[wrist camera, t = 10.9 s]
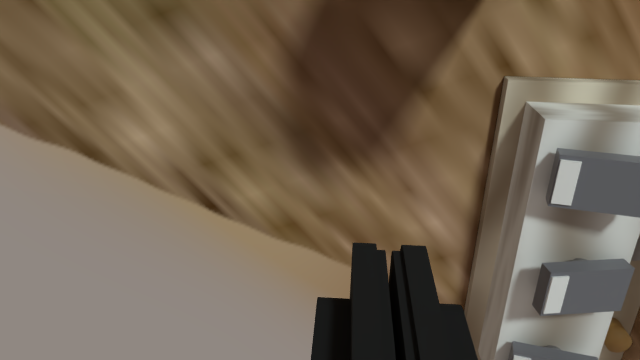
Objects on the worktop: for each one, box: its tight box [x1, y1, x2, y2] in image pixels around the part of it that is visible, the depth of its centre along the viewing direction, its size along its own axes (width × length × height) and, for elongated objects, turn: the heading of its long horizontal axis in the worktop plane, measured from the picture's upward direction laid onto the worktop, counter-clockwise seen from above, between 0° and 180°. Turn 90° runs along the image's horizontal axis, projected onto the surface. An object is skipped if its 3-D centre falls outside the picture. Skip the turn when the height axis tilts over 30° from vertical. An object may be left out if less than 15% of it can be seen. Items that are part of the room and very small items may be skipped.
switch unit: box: [464, 76, 640, 360], centre depth 39 cm, size 14×26×5 cm, turn 179°
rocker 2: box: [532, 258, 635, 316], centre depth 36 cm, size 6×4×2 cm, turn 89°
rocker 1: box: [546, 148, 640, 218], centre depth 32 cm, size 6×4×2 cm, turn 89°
